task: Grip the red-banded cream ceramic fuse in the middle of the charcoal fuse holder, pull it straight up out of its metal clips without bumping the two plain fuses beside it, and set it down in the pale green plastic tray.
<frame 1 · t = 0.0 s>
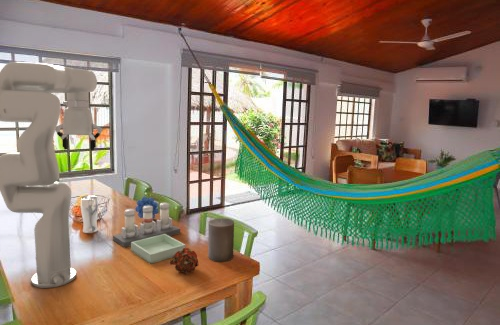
hand: (79, 149, 142), 37 cm above the table, tool pointing down, fingers open, 9 cm apart
grapes: (148, 221, 175), on the table
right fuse: (164, 228, 160), point 2 cm above the table, touching fuse holder
pillar candle: (220, 257, 138), on the table
beer glass: (90, 231, 159), on the table
fuse holder: (147, 236, 155), on the table
dark red rosette: (184, 271, 126), on the table
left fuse: (130, 236, 149), point 2 cm above the table, touching fuse holder
tray: (158, 252, 140), on the table
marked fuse: (147, 231, 155), point 2 cm above the table, touching fuse holder
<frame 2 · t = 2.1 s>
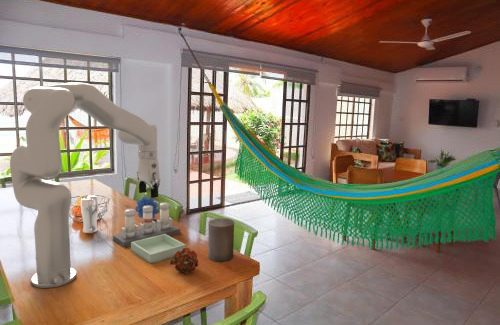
hand: (148, 194, 152), 18 cm above the table, tool pointing down, fingers open, 9 cm apart
nothing on the table moved.
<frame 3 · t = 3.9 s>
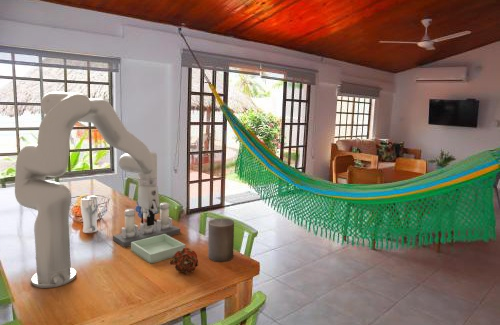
hand: (147, 223, 154), 6 cm above the table, tool pointing down, fingers closed on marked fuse, 3 cm apart
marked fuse: (147, 231, 155), point 2 cm above the table, touching fuse holder, gripper
everything else where it was.
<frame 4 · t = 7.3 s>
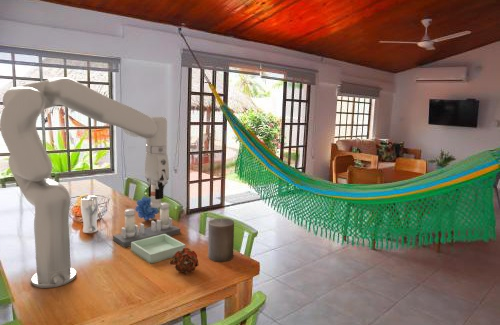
hand: (155, 197, 139), 21 cm above the table, tool pointing down, fingers closed on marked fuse, 3 cm apart
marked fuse: (156, 206, 139), point 17 cm above the table, touching gripper
everything else where it was.
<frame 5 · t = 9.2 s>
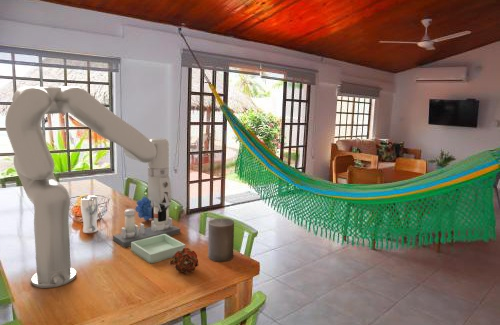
hand: (158, 218, 138), 13 cm above the table, tool pointing down, fingers closed on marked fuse, 3 cm apart
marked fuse: (159, 228, 138), point 9 cm above the table, touching gripper
everything else where it was.
when the fingers open (6 cm above the table, at t = 10.8 s): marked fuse drops 1 cm, resting on tray.
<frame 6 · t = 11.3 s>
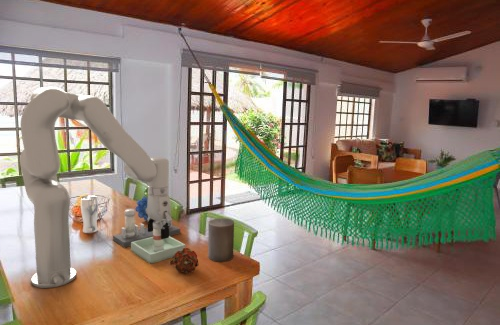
hand: (158, 234, 138), 7 cm above the table, tool pointing down, fingers open, 9 cm apart
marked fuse: (158, 250, 140), point 1 cm above the table, touching tray
everything else where it was.
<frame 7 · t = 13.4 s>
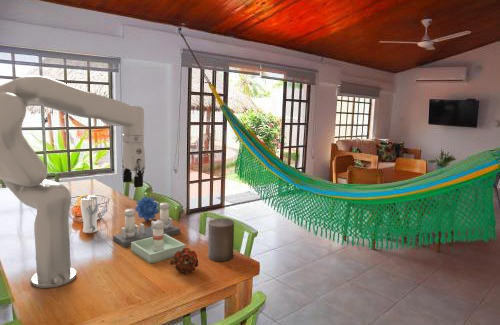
hand: (132, 184, 138), 26 cm above the table, tool pointing down, fingers open, 9 cm apart
nothing on the table moved.
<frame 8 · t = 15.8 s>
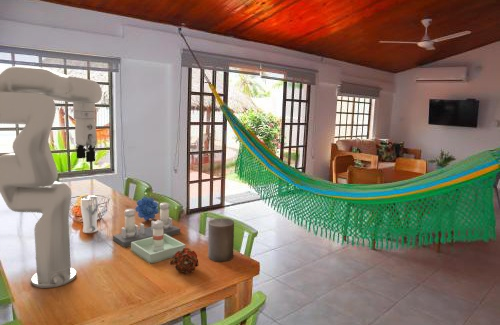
hand: (85, 159, 142), 33 cm above the table, tool pointing down, fingers open, 9 cm apart
nothing on the table moved.
at the end: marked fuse inside the target area on the tray (0.0 cm from its centre), point 0.8 cm above the tray's base; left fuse moved 0.0 cm from its start; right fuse moved 0.0 cm from its start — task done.
